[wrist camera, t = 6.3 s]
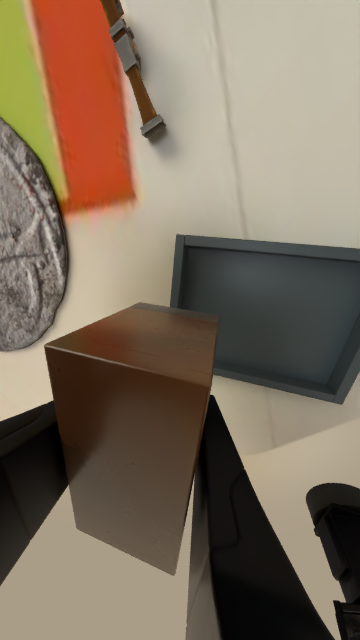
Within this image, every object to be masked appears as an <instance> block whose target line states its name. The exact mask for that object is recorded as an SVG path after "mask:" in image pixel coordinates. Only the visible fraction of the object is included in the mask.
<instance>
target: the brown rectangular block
mask: <svg viewBox="0 0 360 640" xmlns="http://www.w3.org/2000/svg"><path fill="white" fill-rule="evenodd" d="M219 319H220V316H219V315H214V314H208V313H202V312H196V311H190V310H183V309H177V308H171V307H165V306H159V305H153V304H147V303H141V302H140V303H137V304H135V305H133V306H131V307H128V308H126V309H124V310H122V311H119V312H117V313H115V314H112V315H110V316H108V317H106V318H103V319H101V320H99V321H97V322H94V323H92V324H90V325H88V326H85V327H83V328H81V329H78V330H76V331H74V332H72V333H69V334H67V335H65V336H63V337H60V338H58V339H56V340H54V341H51V342H49V343H47V344H45V345H44V349H45V355H46V360H47V366H48V371H49V377H50V383H51V388H52V394H53V399H54V405H55V411H56V416H57V422H58V428H59V433H60V439H61V444H62V450H63V456H64V461H65V467H66V472H67V478H68V484H69V489H70V495H71V501H72V505H73V512H74V517H75V523H76V528H77V529H78V530H80V531H82V532H84V533H86V534H88V535H90V536H93V537H95V538H97V539H99V540H101V541H103V542H105V543H107V544H109V545H111V546H113V547H115V548H118V549H119V550H121V551H123V552H125V553H128V554H130V555H131V556H134V557H136V558H138V559H140V560H142V561H144V562H146V563H148V564H150V565H152V566H154V567H156V568H158V569H160V570H162V571H164V572H166V573H168V574H170V575H173V576H174V575H175V573H176V568H177V563H178V558H179V552H180V547H181V541H182V536H183V531H184V526H185V521H186V516H187V511H188V506H189V500H190V495H191V490H192V485H193V479H194V474H195V469H196V464H197V459H198V454H199V448H200V443H201V438H202V433H203V428H204V422H205V417H206V412H207V407H208V402H209V396H210V391H211V386H212V377H213V369H214V361H215V352H216V344H217V335H218V327H219Z"/></svg>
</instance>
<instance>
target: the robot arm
mask: <svg viewBox="0 0 360 640" xmlns="http://www.w3.org/2000/svg"><path fill="white" fill-rule="evenodd" d="M68 485H69V484H68V478H67V472H66V467H65V461H64V456H63V450H62V444H61V439H60V433H59V428H58V422H57V416H56V411H55V405H54V400H53V401H51V402H48V403H47V404H43V405H41V406H39V407H36V408H34V409H31V410H29V411H26V412H24V413H22V414H19V415H16V416H14V417H11V418H8V419H6V420H3V421H0V586H1V584H2V583H3V581H4V580H5V578H6V576H7V575H8V574H9V572H10V571H11V569H12V568H13V567H14V565H15V564H16V562H17V561H18V559H19V558H20V556H21V555H22V553H23V552H24V550H25V549H26V547H27V546H28V544H29V542H30V540H31V539H32V538H33V537H34V535H35V533H36V532H37V531H38V529H39V528H40V526H41V525H42V523H43V522H44V520H45V519H46V517H47V516H48V514H49V513H50V511H51V510H52V508H53V507H54V505H55V504H56V502H57V501H58V500H59V498H60V497H61V495H62V494H63V492H64V491H65V489H66V488H67V486H68ZM192 517H193V518H192V534H191V535H192V536H191V552H190V572H189V589H188V606H187V627H186V640H335V639H334V638H333V636H332V635H331V633H330V632H329V630H328V629H327V627H326V626H325V624H324V622H323V621H322V619H321V618H320V616H319V614H318V613H317V611H316V609H315V607H314V606H313V604H312V602H311V600H310V599H309V597H308V595H307V593H306V591H305V589H304V587H303V585H302V583H301V581H300V580H299V578H298V576H297V574H296V572H295V570H294V568H293V566H292V564H291V562H290V560H289V558H288V557H287V555H286V553H285V551H284V549H283V547H282V545H281V543H280V541H279V539H278V537H277V536H276V534H275V532H274V530H273V528H272V526H271V524H270V522H269V521H268V518H267V516H266V514H265V512H264V510H263V508H262V506H261V504H260V502H259V500H258V498H257V496H256V493H255V491H254V489H253V487H252V485H251V482H250V480H249V477H248V475H247V473H246V470H245V469H244V466H243V463H242V461H241V459H240V456H239V454H238V451H237V449H236V447H235V444H234V442H233V440H232V437H231V435H230V432H229V430H228V428H227V425H226V423H225V421H224V418H223V416H222V413H221V411H220V409H219V406H218V404H217V402H216V399H215V397H214V396H213V395H210V396H209V402H208V407H207V412H206V417H205V422H204V428H203V433H202V438H201V443H200V448H199V454H198V459H197V464H196V469H195V480H194V499H193V516H192ZM314 532H315V535H316V536H318V537H320V539H321V542H322V545H323V548H324V551H325V554H326V557H327V560H328V563H329V566H330V569H331V572H332V575H333V576H334V578H335V579H336V580H337V581H339V583H340V586H341V589H342V592H343V594H344V597H345V600H346V603H343V602H342V603H341V602H340V601H336V600H333V603H334V607H335V611H336V614H335V615H336V619H337V623H338V628H339V632H340V636H341V640H360V512H359V511H356V510H353V509H350V508H347V507H344V506H341V505H339V504H335V503H331V504H330V505H329V506H328V508H327V509H326V511H325V512H324V514H323V515H322V517H321V519H320V520H319V522H318V523H317V525H316V526H315V528H314Z"/></svg>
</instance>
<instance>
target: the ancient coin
mask: <svg viewBox="0 0 360 640" xmlns="http://www.w3.org/2000/svg"><path fill="white" fill-rule="evenodd" d="M66 271H67V250H66V243H65V235H64V230H63V226H62V222H61V218H60V214H59V210H58V207H57V204H56V200H55V197H54V194H53V191H52V189H51V186H50V184H49V182H48V179H47V177H46V175H45V173H44V171H43V168H42V166H41V164H40V162H39V161H38V159H37V157H36V156H35V154H34V153H33V152H32V151H31V150H30V148H29V147H28V146H27V145H26V144H25V143H24V141H23V140H22V139H21V138H20V137H19V136H18V135H17V134H16V133H15V132H14V131H13V129H12V128H11V127H10V126H9V125H8V124H7V123H6V122H4V121H3V120H2V119H1V118H0V351H12V350H16V349H22V348H25V347H28V346H29V345H31V344H33V342H34V341H36V340H38V339H39V338H40V337H41V336H42V334H43V333H44V331H45V330H46V329H47V328H48V327H50V325H51V324H52V320H53V317H54V311H55V309H56V307H57V306H58V304H59V303H60V301H61V299H62V295H63V291H64V287H65V279H66Z"/></svg>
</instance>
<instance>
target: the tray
mask: <svg viewBox="0 0 360 640" xmlns="http://www.w3.org/2000/svg"><path fill="white" fill-rule="evenodd" d="M170 307H171V308H177V309H183V310H190V311H196V312H202V313H208V314H214V315H219V316H220V319H219V327H218V335H217V344H216V352H215V361H214V369H213V374H215V375H219V376H223V377H227V378H231V379H236V380H240V381H244V382H248V383H252V384H257V385H261V386H265V387H269V388H273V389H278V390H282V391H286V392H290V393H295V394H299V395H303V396H307V397H311V398H316V399H320V400H324V401H328V402H333V403H337V404H343V402H344V400H345V398H346V396H347V394H348V392H349V390H350V389H351V387H352V385H353V383H354V381H355V379H356V377H357V375H358V373H359V371H360V249H356V248H343V247H331V246H318V245H305V244H293V243H280V242H267V241H255V240H242V239H229V238H217V237H204V236H191V235H186V236H185V235H179V234H177V235H176V243H175V255H174V266H173V278H172V289H171V301H170Z"/></svg>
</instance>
